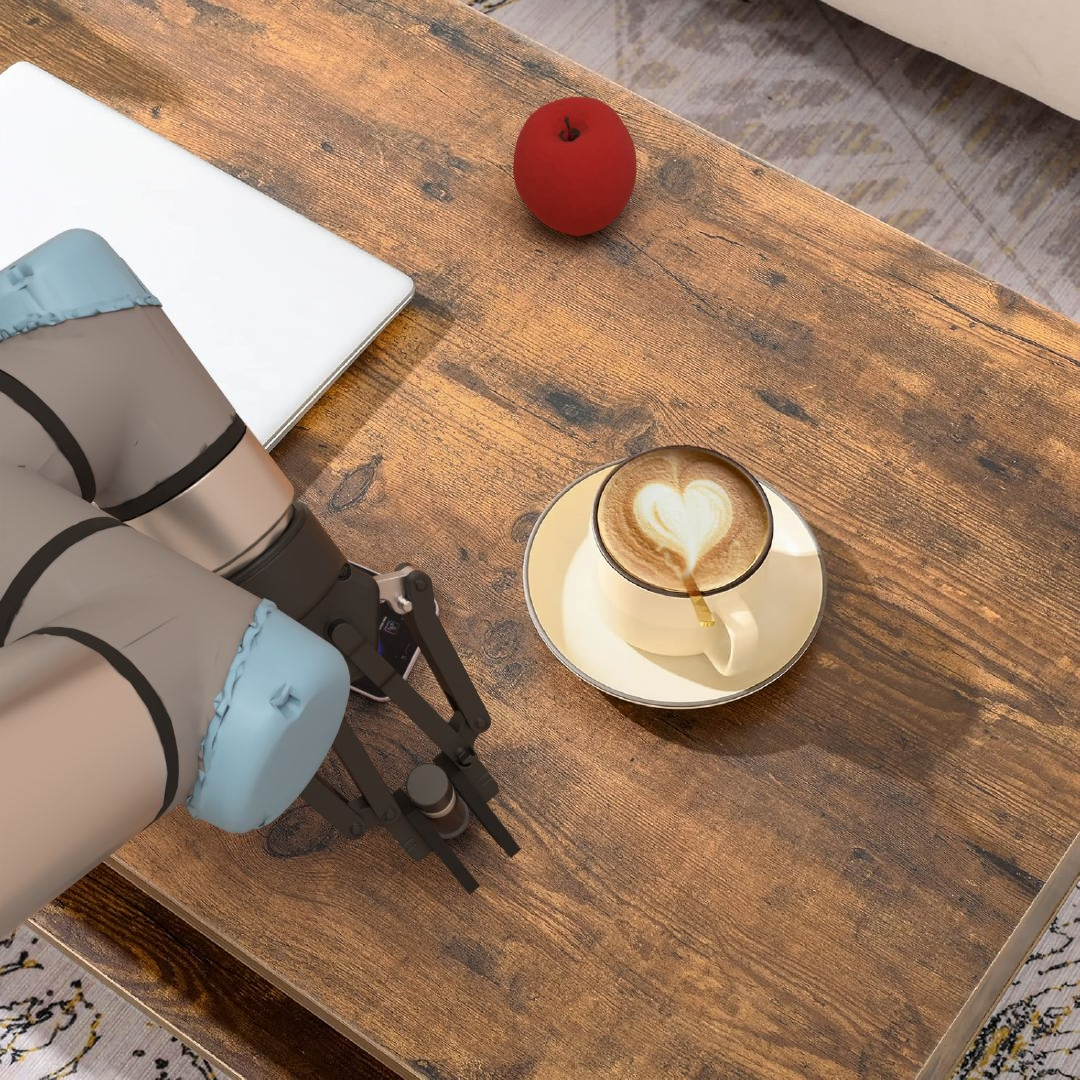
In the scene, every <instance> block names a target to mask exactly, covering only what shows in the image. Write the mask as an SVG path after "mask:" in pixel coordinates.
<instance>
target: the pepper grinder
mask: <svg viewBox="0 0 1080 1080" xmlns="http://www.w3.org/2000/svg"><path fill="white" fill-rule="evenodd" d="M405 787H406V788H405V789H406V792H407V793H406V794H407V796H408V797H409V798H410V799H411V800H412V802H413V803H414V804H415V805H416V806H417V807H418V809H419V810H420V811H421V812H422V814H423V815H424V816H425V817H426V819H427V820H428V821H429V822H430V824H431V825H432V826H433V827H434V829H435V830H436V831H437V832H438V834H439V835H440V836H441V837H442V839H443V840H450V839H454V838H456V837H458V836H460V835H462V833H464V831H465V830H466V828H467V827H468V825H469V822H470V809H469V807H468V806H467V805H466V804H465V802H464V801H463V800H462V798H461V797H460V796H459V795H458V793H457V792H456V791H455V788H454V786H453V784H452V783H451V781H450V780H449V778H448V776H447V775H446V773H445V771H444V770H443V769H442V768H441V767H439V766H438V765H435V764H434V763H430V762H428V763H427V762H425V763H421V764H419V765H416V766H415V767H414V768H413V769H412V770H411V771H410V772H409V774H408V776H407V779H406V783H405Z"/></svg>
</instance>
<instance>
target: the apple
mask: <svg viewBox="0 0 1080 1080" xmlns="http://www.w3.org/2000/svg"><path fill="white" fill-rule="evenodd" d="M636 154H637V152H636V148H635V143H634V141H633V138H632V135H631V133H630V132H629V129H628V127H627V126H626V124H625V123H624V122H623V120H622V118H621V117H620V115H619V114H618V113H617V112H616V110H614V109H613V108H612V106H610V105H608V104H607V103H605V102H603V101H602V100H601V99H597V98H595V97H590V96H589V97H588V96H569V97H563V98H560V99H555V100H552V101H551V102H548V103H546V104H543V105H541V106H540V107H538V108H537V109H536V110H535V111H533V112H532V113H531V114H529V117H528V118H527V119H526V121H525V122H524V124H523V126H522V128H521V129H520V132H519V134H518V137H517V139H516V143H515V148H514V152H513V161H512V177H513V180H514V181H513V182H514V185H515V189H516V190H517V193H518V195H519V197H520V198H521V200H522V202H523V203H524V205H525V206H526V207H527V208H528V209H529V210H530V211H531V213H532V215H534V217H536V218H537V219H538V220H539V221H540V222H541V223H542V224H543V225H545V226H546V227H548V228H550V229H553V230H555V231H558V232H559V233H562V234H565V235H570V236H573V237H576V236H579V237H580V236H586V235H591V234H593V233H596V232H598V231H601V230H604V229H605V228H606V227H608V226H609V225H610V224H612V223H613V222H614V221H615V220H616V219H617V218H618V217H619V216H620V214H621V213H622V212H623V210H624V209H625V208H626V206H627V205H628V202H629V201H630V198H631V196H632V194H633V191H634V188H635V185H636V180H637V179H636V178H637V155H636Z"/></svg>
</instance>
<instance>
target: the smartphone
mask: <svg viewBox="0 0 1080 1080" xmlns="http://www.w3.org/2000/svg"><path fill="white" fill-rule="evenodd" d="M347 560H348V561H349V563H350V564H351V565H353V566H355V567H357V568H360V569H362V570H364V571H365V572H367V573H368V574H369V575H370V576H372V577H373V576H377V575H382V574H383V573H380V572H377V571H375V570H373V569H370V568H369V567H366V566H364V565H361V564H359V563H356V562H354V561H352V560H349V559H347ZM434 603H435V611H436V614H437V616H438V617H439V615H440V607H439V604H438V602H437V600H436V598H434ZM378 653H379V654H380V655H381V656H382V657H383V658H384V659H385V660H386V661H387V662H388V663H389V664H390V665H391V666H392V667H393V668H394V669H395V670H396V671H397V672H398V673H399V674H400V675H401V676H402V677H403V678H404V679H405V680H406V681H407V679H408V677H409V675H410V673H411V671H412V669H413V667H414V665H415V663H416V662H417V659H418V657H419V655H420V653H421V651H420V649H419V647H418V645H417V643H416V641H415V639H414V638H413V636H412V634H411V632H410V630H409V628H408V626H407V625H406V623H405V621H404V619H403V617H402V615H401V614H398V613H397V612H395V611H394V610H393V609H391V608H390V607H389V606H388V604H387V602H386V600H385V599H380V621H379V650H378ZM350 690H352V691H355V692H356V693H359V694H361V695H363V696H366V697H368V698H370V699H372V700H375V701H377V702H379V703H381V702H382V703H383V702H389V701H392V700H391V699H390V698H389V697H388V696H387V695H386V694H385V693H384V692H383V691H382V690H381V689H380V688H379V687H378V686H377V685H376V684H375V683H374V682H373V681H372V680H371V679H370V678H369V677H368V676H367V675H365V676H363V677H362V678H360V679H358V680H356V681H354V682H352V683H350Z"/></svg>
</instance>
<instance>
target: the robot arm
mask: <svg viewBox="0 0 1080 1080" xmlns="http://www.w3.org/2000/svg"><path fill="white" fill-rule="evenodd" d="M294 495H295V489H294V486H293V484H292V483H291V482H290V480H289V479H288V477H287V476H286V475H285V474H284V472H283V470H281V468H280V466H279V465H278V464H277V463H276V461H275V460H274V458H272V456H271V455H270V453H269V452H268V451H267V449H266V448H265V447H264V446H263V444H262V443H261V442H260V440H259V439H258V438H257V436H256V434H255V433H254V432H253V431H252V430H251V428H250V427H249V426H248V424H247V423H246V422H245V421H244V420H243V418H242V417H241V416H240V415H239V414H238V412H237V410H236V408H235V407H234V406H233V404H232V403H231V402H230V400H229V399H228V397H227V396H226V395H225V394H224V392H223V390H222V389H221V388H220V387H219V385H218V384H217V383H216V381H215V380H214V378H213V377H212V376H211V374H210V373H209V372H208V370H207V369H206V368H205V366H204V365H203V364H202V362H201V361H200V359H199V358H198V356H197V355H196V353H195V352H194V350H193V349H192V348H191V346H190V345H189V344H188V343H187V341H186V340H185V339H184V337H183V336H182V335H181V333H180V332H179V330H178V328H177V327H176V326H175V325H174V323H173V322H172V320H171V319H170V318H169V316H168V315H167V314H166V312H165V311H164V309H163V304H162V302H161V301H160V299H159V298H158V297H157V296H156V295H154V294H153V293H152V291H150V290H149V288H148V287H147V285H145V283H144V282H143V281H142V280H141V279H140V278H139V276H138V275H137V274H136V272H134V270H133V269H132V267H131V266H130V265H129V263H127V262H126V260H125V259H124V258H123V257H121V256H120V254H118V253H117V252H116V250H115V249H114V248H113V247H112V246H111V244H110V243H109V242H108V241H107V240H106V239H105V238H104V237H103V236H102V235H101V234H99V233H97V232H95V231H93V230H91V229H87V228H81V227H80V228H78V227H75V228H70V229H66V230H64V231H62V232H59V233H57V234H56V235H54V236H53V237H51V238H49V239H48V240H46V241H45V242H43V243H41V244H40V245H38V246H36V247H35V248H33V249H32V250H30V251H29V252H27V253H25V254H24V255H22V256H20V257H19V258H17V259H16V260H15V261H12V262H11V263H10V264H8V265H6V266H5V267H3V268H2V269H0V942H1V941H3V939H5V938H7V936H9V935H10V934H11V933H12V932H14V931H15V930H16V929H18V928H19V927H20V926H21V925H23V924H24V923H26V922H27V921H28V920H30V919H31V918H32V917H33V916H34V915H36V914H37V913H39V912H40V911H41V910H43V908H45V907H46V906H47V905H49V904H50V903H51V902H53V901H54V900H55V899H56V898H58V897H59V896H60V895H62V894H63V893H64V892H65V891H67V890H68V889H69V888H71V887H72V886H73V885H74V884H76V883H77V882H78V881H80V880H81V879H82V878H83V877H85V876H86V875H87V874H89V873H90V872H91V871H93V870H95V868H97V867H98V866H99V865H100V864H101V863H103V862H104V861H106V859H108V858H110V856H112V855H113V854H115V853H116V852H117V851H119V850H120V849H121V848H122V847H123V846H125V845H126V844H128V843H129V842H130V841H131V840H132V839H134V838H135V837H136V836H138V835H139V834H141V833H142V832H143V831H144V830H146V829H148V828H149V827H150V826H151V825H153V824H154V823H156V822H157V821H158V820H161V819H162V818H163V817H165V816H167V815H168V814H169V813H170V812H171V811H173V810H174V809H176V808H177V807H181V808H184V809H185V810H186V811H187V813H189V816H190V817H192V818H193V819H194V821H198V820H201V821H203V822H206V823H207V824H209V825H211V826H214V827H216V828H218V829H221V830H223V831H225V832H227V833H230V834H247V833H248V832H250V831H252V830H259V829H261V828H263V827H265V826H267V825H269V824H271V823H273V822H274V821H275V820H276V819H277V818H279V817H280V816H281V815H282V814H283V813H284V812H285V811H286V810H287V809H288V808H289V807H290V806H291V805H293V803H294V802H295V801H296V800H297V798H298V797H299V798H301V799H302V801H304V802H305V803H306V804H307V805H309V806H310V807H311V808H312V809H313V810H314V811H316V812H317V813H318V814H319V815H320V816H321V817H322V818H324V819H325V820H326V821H327V822H328V823H329V824H331V826H333V827H334V828H335V829H337V831H339V832H340V833H341V834H342V835H343V836H344V837H345V838H347V839H349V840H350V841H357V840H360V839H361V838H363V837H364V836H365V835H366V833H367V831H368V830H370V829H373V828H376V827H380V828H385V830H387V831H388V833H390V835H391V836H392V837H393V838H394V839H395V840H396V842H397V844H399V845H400V847H401V848H402V849H403V850H404V851H405V852H406V854H407V855H408V856H409V857H410V859H412V860H413V861H416V862H418V863H420V862H422V860H424V859H425V858H426V857H427V856H428V855H430V854H431V853H432V852H434V854H436V856H437V857H438V858H439V859H440V860H441V862H442V863H443V864H444V865H445V867H446V868H447V869H448V870H449V872H450V873H451V874H452V875H453V876H454V878H455V879H456V880H457V882H458V883H459V884H460V885H461V887H462V888H463V889H464V890H465V892H467V893H468V895H469V896H470V895H472V894H474V892H475V891H477V890H478V889H479V888H480V887H481V885H480V884H479V882H478V881H477V880H476V879H475V877H474V876H473V875H472V874H471V872H470V871H469V870H468V869H467V867H466V866H465V865H464V864H463V862H462V861H461V860H460V858H459V857H458V856H457V855H456V854H455V852H454V851H453V849H451V847H450V846H449V845H448V844H447V842H446V841H445V839H444V838H442V837H441V836H440V835H439V834H438V832H437V831H436V830H435V829H434V827H433V826H432V825H431V824H430V822H429V821H428V820H427V819H426V817H425V816H424V815H423V814H422V812H421V811H420V810H419V809H418V807H417V806H416V805H415V804H414V803H413V801H412V799H411V798H410V797H409V795H408V793H406V792H405V791H404V790H403V788H402V787H401V786H400V787H398V788H397V789H396V790H395V791H394V792H391V791H390V789H389V788H388V786H387V784H386V783H385V781H384V779H383V778H382V776H381V774H380V773H379V771H378V769H377V768H376V766H375V764H374V762H373V761H372V759H371V758H370V756H369V754H368V752H367V751H366V749H365V748H364V746H363V744H362V743H361V741H360V739H359V737H358V736H357V734H356V733H355V731H354V730H353V728H352V726H351V724H350V723H349V721H348V720H347V718H346V715H345V713H346V710H347V706H348V702H349V698H350V691H351V689H350V683H352V682H354V681H356V680H358V679H360V678H362V677H363V676H365V675H367V676H368V677H369V678H370V679H371V680H372V681H373V682H374V683H375V684H376V685H377V686H378V687H379V688H380V689H381V690H382V691H383V692H384V693H385V694H386V695H387V696H388V697H389V698H390V699H391V700H390V701H392V702H393V703H394V704H395V705H396V706H397V707H398V708H399V709H400V710H401V711H402V713H404V714H405V715H406V717H408V719H410V720H411V721H412V722H413V724H415V725H416V726H417V727H418V728H419V729H420V730H421V731H422V732H423V733H424V734H425V735H426V736H427V738H429V739H430V740H431V741H432V742H433V743H434V744H435V745H436V746H437V747H438V748H439V749H440V750H441V752H439V754H438V755H436V756H435V757H434V758H433V759H432V760H431V761H432V762H433V764H435V765H438V766H439V767H441V768H442V769H443V770H444V771H445V773H446V775H447V776H448V778H449V780H450V781H451V783H452V784H453V786H454V788H455V791H456V793H457V795H458V796H459V797H460V798H462V800H463V801H464V802H465V804H466V805H467V807H468V810H469V811H471V813H472V814H473V816H474V817H475V818H476V820H478V822H479V823H480V825H481V826H482V827H483V828H484V829H485V831H486V832H487V833H488V835H489V836H490V837H491V838H492V839H493V840H494V842H495V843H496V844H497V845H498V846H499V847H500V848H501V849H502V850H503V851H504V853H506V854H507V856H508V857H510V859H512V858H513V857H514V856H516V855H517V854H518V853H519V852H520V851H521V850H522V848H521V846H520V845H519V844H518V842H517V841H516V840H515V839H514V837H513V836H512V835H511V833H510V832H509V831H508V830H507V828H506V827H505V826H504V824H503V823H502V822H501V820H500V819H499V818H498V816H497V815H496V814H495V813H494V811H493V810H492V809H491V807H490V806H489V805H488V803H489V802H490V801H491V800H493V799H494V798H495V797H496V796H497V795H498V794H500V790H499V785H498V783H497V781H496V780H495V779H494V777H493V776H492V774H491V773H490V772H489V770H488V769H487V768H486V767H485V765H484V764H483V762H482V761H481V760H480V758H479V757H478V753H477V751H476V750H475V749H474V747H475V746H474V745H475V742H476V741H477V739H478V738H479V736H480V734H483V733H485V732H487V731H488V730H489V729H490V727H491V725H492V718H491V715H490V712H488V710H487V708H486V706H485V704H484V702H483V700H482V698H481V696H480V694H479V693H478V690H477V689H476V687H475V685H474V682H473V681H472V679H471V677H470V676H469V673H468V671H467V670H466V668H465V666H464V664H463V661H462V659H461V658H460V656H459V654H458V651H457V650H456V649H455V647H454V644H453V643H452V641H451V639H450V637H449V635H448V633H447V631H446V629H445V628H444V626H443V624H442V622H441V620H440V618H439V615H438V616H437V614H436V611H435V603H434V599H435V595H434V588H433V580H432V578H431V577H430V575H429V574H428V573H426V572H424V571H423V570H421V569H420V568H418V567H417V566H415V565H414V564H412V563H410V562H408V561H407V562H405V561H403V562H401V563H399V564H398V565H397V566H395V569H394V571H391V572H387V573H386V572H385V573H381V574H382V575H377V576H373V577H372V576H370V575H369V574H368V573H367V572H365V571H364V570H362V569H360V568H357V567H355V566H353V565H351V564H350V563H349V561H348V560H349V559H347V557H346V556H345V555H344V553H343V552H342V551H341V550H340V548H339V546H338V545H337V544H336V543H335V541H334V540H333V539H332V537H331V536H330V534H329V533H328V532H327V530H326V529H325V528H324V526H323V525H322V524H321V522H320V521H319V519H317V517H316V515H315V514H314V512H313V511H312V510H311V509H310V507H309V506H308V505H307V504H306V503H304V502H300V501H297V500H294ZM92 503H94V504H95V505H96V506H95V505H94V504H92ZM380 599H385V600H386V602H387V604H388V606H389V607H390V608H391V609H393V610H394V611H395V612H397V613H398V614H401V615H402V617H403V619H404V621H405V623H406V625H407V626H408V628H409V630H410V632H411V634H412V636H413V638H414V639H415V641H416V643H417V645H418V647H419V649H420V653H421V654H422V656H423V658H424V660H425V662H426V663H427V665H428V667H429V669H430V671H431V673H432V674H433V677H434V678H435V680H436V682H437V683H438V686H439V687H440V689H441V691H442V693H443V695H444V697H445V699H446V700H447V702H448V704H449V706H450V708H451V710H452V712H453V714H452V715H451V718H450V719H449V720H448V722H447V721H446V720H445V718H443V717H442V715H440V713H438V712H437V711H436V710H435V709H434V707H433V706H432V705H430V703H429V702H428V701H426V699H425V698H423V697H422V695H420V694H419V692H418V691H416V689H415V688H414V687H413V686H412V685H410V683H409V682H408V681H407V679H406V680H405V679H404V678H403V677H402V676H401V675H400V674H399V673H398V672H397V671H396V670H395V669H394V668H393V667H392V666H391V665H390V664H389V663H388V662H387V661H386V660H385V659H384V658H383V657H382V656H381V655H380V654H379V653H378V650H379V621H380ZM330 749H332V750H333V751H334V753H335V754H336V756H337V758H338V760H339V761H340V763H341V764H342V766H343V767H344V769H345V771H346V772H347V774H348V775H349V778H350V779H351V781H352V782H353V784H354V785H355V787H356V789H357V790H358V792H359V793H360V794H361V796H358V797H356V798H354V799H351V800H350V799H348V798H347V797H346V796H345V795H344V794H342V793H341V792H340V791H339V790H338V788H336V787H335V786H334V785H333V784H331V783H330V782H329V780H327V779H326V778H325V777H323V776H322V775H321V774H320V773H319V772H318V770H319V768H320V767H321V766H322V764H323V762H324V760H325V759H326V757H327V755H328V753H329V752H330Z"/></svg>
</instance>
